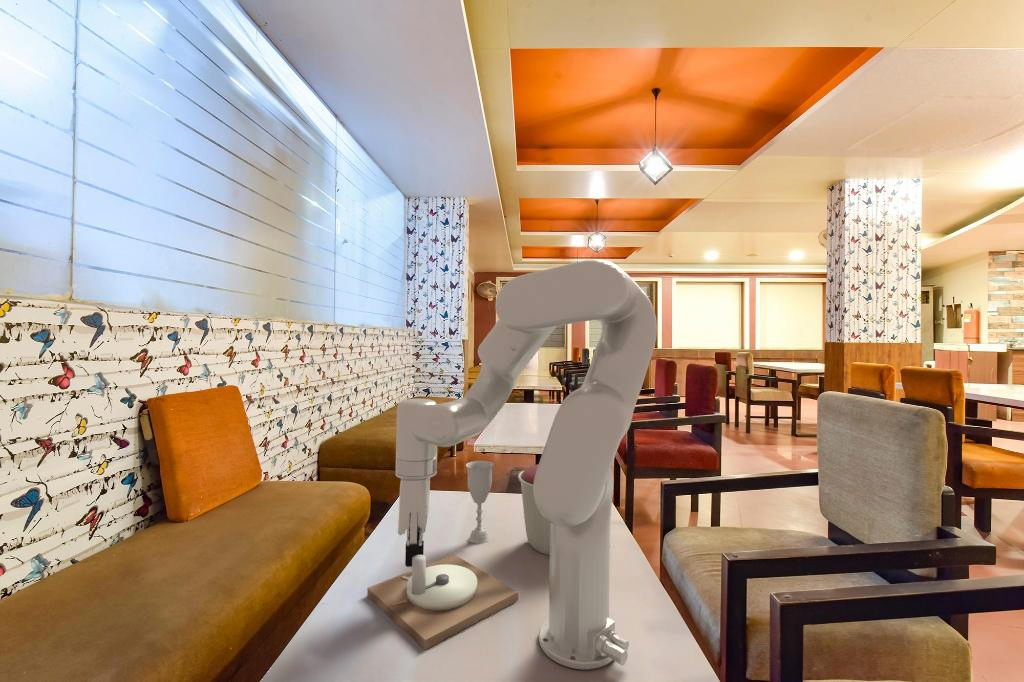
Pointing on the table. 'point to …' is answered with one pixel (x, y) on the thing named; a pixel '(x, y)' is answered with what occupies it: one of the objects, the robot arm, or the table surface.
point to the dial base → (440, 623)
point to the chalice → (479, 494)
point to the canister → (534, 514)
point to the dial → (440, 585)
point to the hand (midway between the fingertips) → (414, 564)
